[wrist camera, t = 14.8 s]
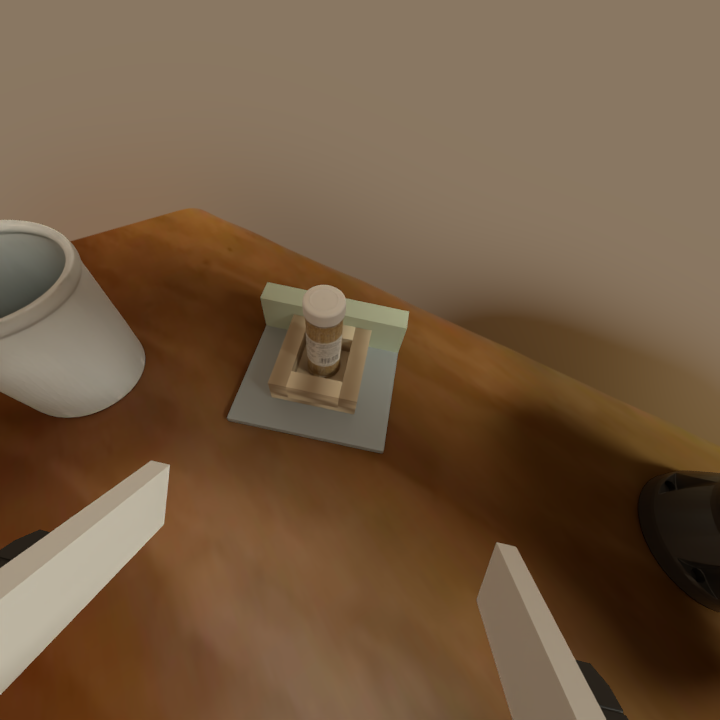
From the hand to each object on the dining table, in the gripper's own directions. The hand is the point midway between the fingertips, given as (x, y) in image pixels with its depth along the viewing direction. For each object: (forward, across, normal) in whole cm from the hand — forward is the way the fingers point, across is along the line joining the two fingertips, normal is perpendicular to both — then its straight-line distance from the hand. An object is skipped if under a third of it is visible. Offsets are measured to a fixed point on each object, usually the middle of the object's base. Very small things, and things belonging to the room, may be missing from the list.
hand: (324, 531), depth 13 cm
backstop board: (+34, -6, -4) cm, 34 cm away
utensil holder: (+29, -36, -8) cm, 47 cm away
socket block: (+33, -6, -2) cm, 34 cm away
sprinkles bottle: (+33, -6, -2) cm, 33 cm away
